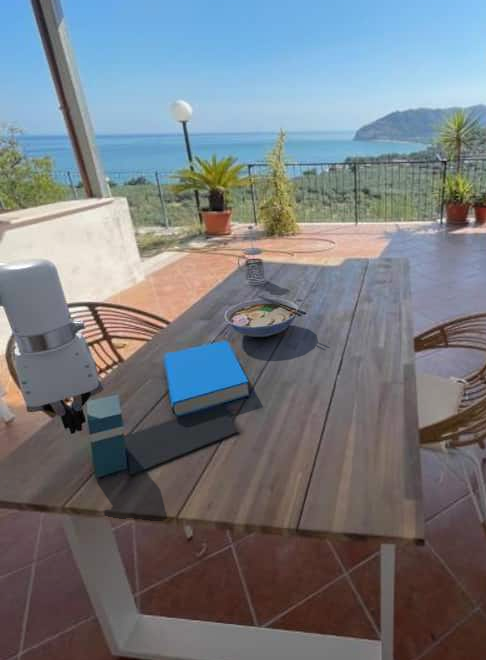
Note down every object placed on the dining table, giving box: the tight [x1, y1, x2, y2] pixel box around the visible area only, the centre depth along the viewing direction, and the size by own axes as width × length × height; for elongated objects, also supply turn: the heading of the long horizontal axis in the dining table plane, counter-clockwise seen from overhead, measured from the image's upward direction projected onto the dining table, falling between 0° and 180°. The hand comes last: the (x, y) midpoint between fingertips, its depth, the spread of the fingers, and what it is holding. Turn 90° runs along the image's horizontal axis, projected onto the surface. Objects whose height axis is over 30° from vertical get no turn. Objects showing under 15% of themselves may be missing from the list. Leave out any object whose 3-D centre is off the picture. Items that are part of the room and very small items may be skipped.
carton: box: [86, 394, 128, 479], centre depth 72 cm, size 5×7×12 cm
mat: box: [124, 403, 239, 477], centre depth 81 cm, size 20×12×1 cm, turn 125°
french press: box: [237, 225, 268, 286], centre depth 169 cm, size 10×12×25 cm
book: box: [163, 340, 251, 418], centre depth 99 cm, size 17×4×25 cm
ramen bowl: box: [224, 294, 307, 338], centre depth 125 cm, size 25×23×8 cm
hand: (76, 427), depth 69 cm, fingers closed
